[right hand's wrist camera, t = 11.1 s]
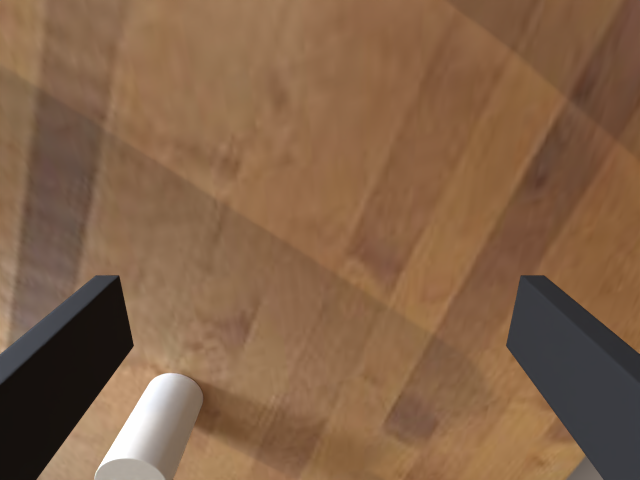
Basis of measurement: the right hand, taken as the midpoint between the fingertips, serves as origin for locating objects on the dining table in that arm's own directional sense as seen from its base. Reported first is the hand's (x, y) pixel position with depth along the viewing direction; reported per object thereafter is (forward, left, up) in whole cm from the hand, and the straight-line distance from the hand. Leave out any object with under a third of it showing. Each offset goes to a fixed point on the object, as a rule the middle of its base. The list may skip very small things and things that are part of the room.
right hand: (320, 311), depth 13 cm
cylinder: (+1, -23, -18) cm, 29 cm away
